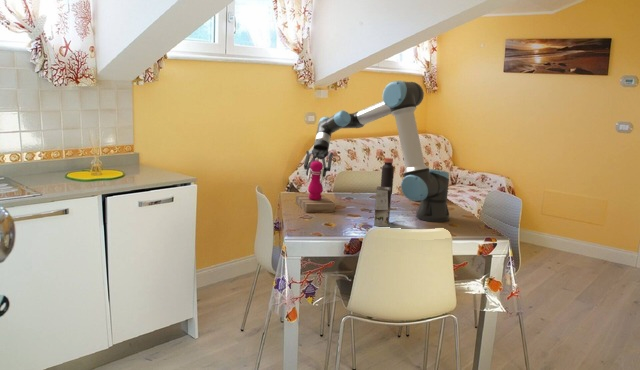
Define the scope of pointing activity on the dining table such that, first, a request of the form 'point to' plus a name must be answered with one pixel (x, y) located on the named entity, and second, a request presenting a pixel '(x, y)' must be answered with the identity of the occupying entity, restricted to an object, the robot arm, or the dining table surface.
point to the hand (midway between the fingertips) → (314, 180)
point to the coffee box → (382, 206)
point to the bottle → (387, 173)
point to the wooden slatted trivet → (315, 204)
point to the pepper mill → (315, 180)
